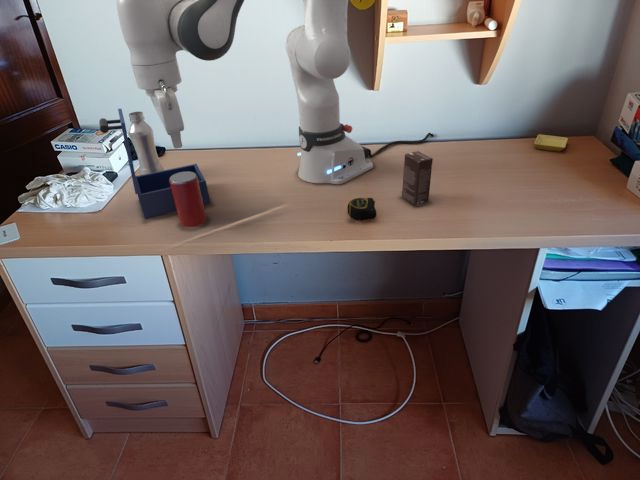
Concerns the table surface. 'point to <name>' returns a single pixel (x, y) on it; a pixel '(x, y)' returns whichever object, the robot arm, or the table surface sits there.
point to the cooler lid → (105, 128)
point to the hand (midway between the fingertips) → (174, 140)
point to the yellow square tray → (550, 142)
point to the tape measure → (362, 209)
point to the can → (188, 199)
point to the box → (417, 178)
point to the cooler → (164, 190)
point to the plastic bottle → (144, 144)
